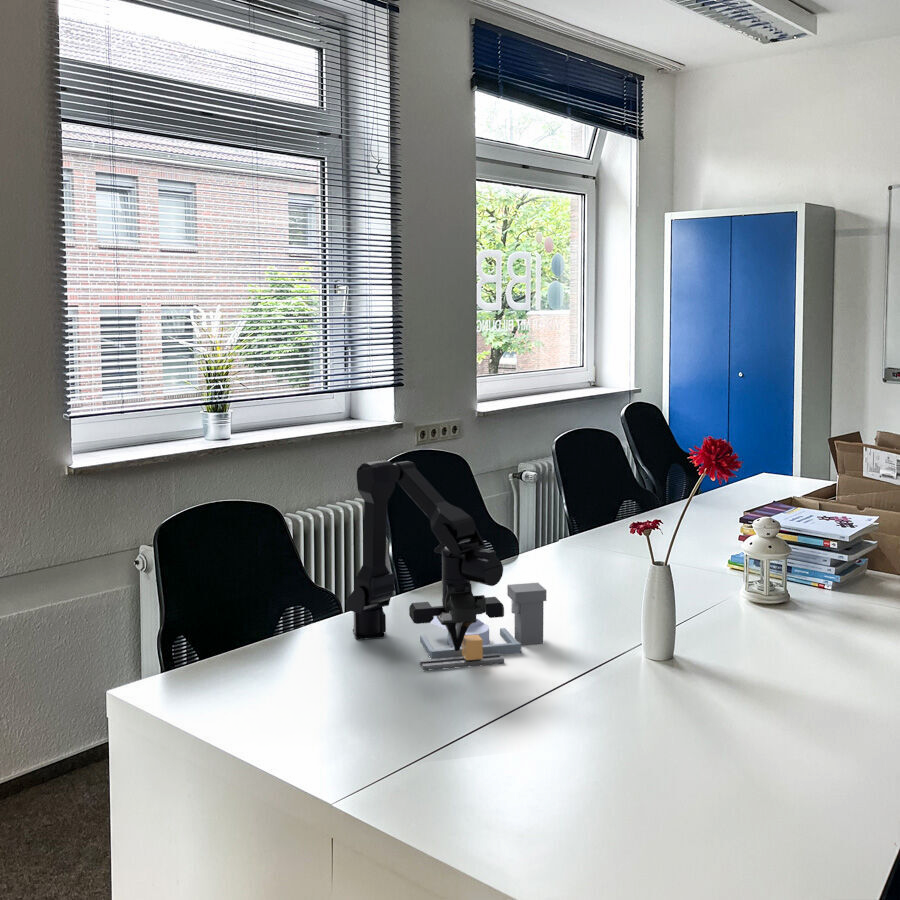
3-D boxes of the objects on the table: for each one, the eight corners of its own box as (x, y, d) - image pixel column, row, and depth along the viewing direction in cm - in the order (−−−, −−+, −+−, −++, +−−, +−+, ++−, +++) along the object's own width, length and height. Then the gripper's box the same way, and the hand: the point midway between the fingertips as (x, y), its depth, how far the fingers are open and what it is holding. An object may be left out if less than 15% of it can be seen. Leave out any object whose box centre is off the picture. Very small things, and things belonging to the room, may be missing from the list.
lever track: (423, 670, 201) (423, 666, 201) (419, 664, 205) (419, 660, 205) (504, 663, 205) (504, 658, 205) (499, 657, 209) (499, 652, 208)
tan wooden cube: (466, 665, 203) (465, 641, 203) (462, 659, 207) (461, 635, 206) (482, 663, 204) (482, 640, 203) (478, 657, 207) (478, 634, 207)
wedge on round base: (429, 636, 222) (465, 652, 212) (428, 607, 221) (465, 622, 211) (460, 628, 228) (497, 643, 217) (460, 600, 227) (497, 613, 216)
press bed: (431, 660, 207) (430, 604, 205) (420, 641, 219) (419, 587, 217) (551, 650, 213) (552, 595, 211) (534, 632, 224) (534, 579, 223)
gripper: (418, 590, 192) (419, 668, 194) (511, 584, 196) (511, 659, 198) (408, 575, 203) (409, 649, 205) (496, 569, 207) (496, 641, 209)
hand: (456, 650), depth 204 cm, fingers closed
